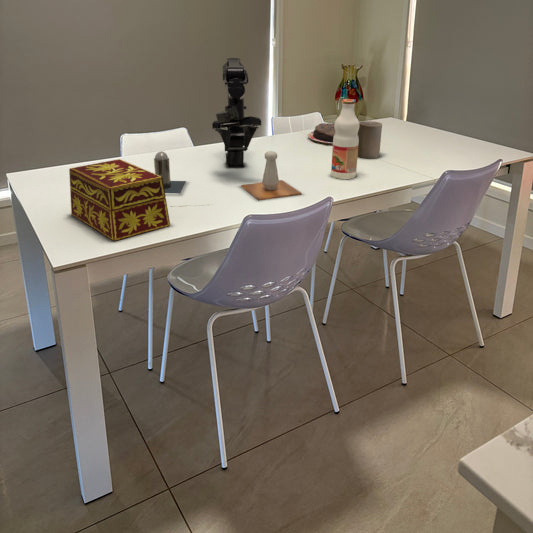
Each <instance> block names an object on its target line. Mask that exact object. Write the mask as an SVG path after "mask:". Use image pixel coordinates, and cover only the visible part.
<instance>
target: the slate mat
mask: <svg viewBox="0 0 533 533" xmlns="http://www.w3.org/2000/svg"><path fill="white" fill-rule="evenodd" d="M186 183H187V181H186V180H171V187H170V188H167V189H165V194H180V195H181V192H182V190H183V189H184V187H185V185H186Z"/></svg>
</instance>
